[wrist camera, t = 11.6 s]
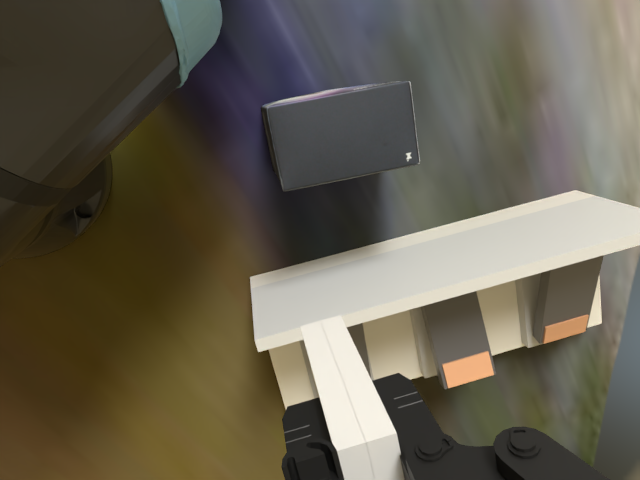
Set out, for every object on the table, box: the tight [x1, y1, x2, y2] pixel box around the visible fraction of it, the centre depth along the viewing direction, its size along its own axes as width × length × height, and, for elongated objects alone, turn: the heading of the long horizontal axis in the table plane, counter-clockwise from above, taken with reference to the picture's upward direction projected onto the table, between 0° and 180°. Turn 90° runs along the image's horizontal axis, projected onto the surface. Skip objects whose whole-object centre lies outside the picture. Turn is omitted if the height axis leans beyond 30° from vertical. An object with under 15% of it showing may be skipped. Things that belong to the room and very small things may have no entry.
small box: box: [261, 81, 420, 192], centre depth 40 cm, size 11×6×10 cm, turn 100°
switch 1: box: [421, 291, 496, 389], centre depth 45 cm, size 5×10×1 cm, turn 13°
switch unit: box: [250, 190, 640, 409], centre depth 45 cm, size 34×14×13 cm, turn 103°
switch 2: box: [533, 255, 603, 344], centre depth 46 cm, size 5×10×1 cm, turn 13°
